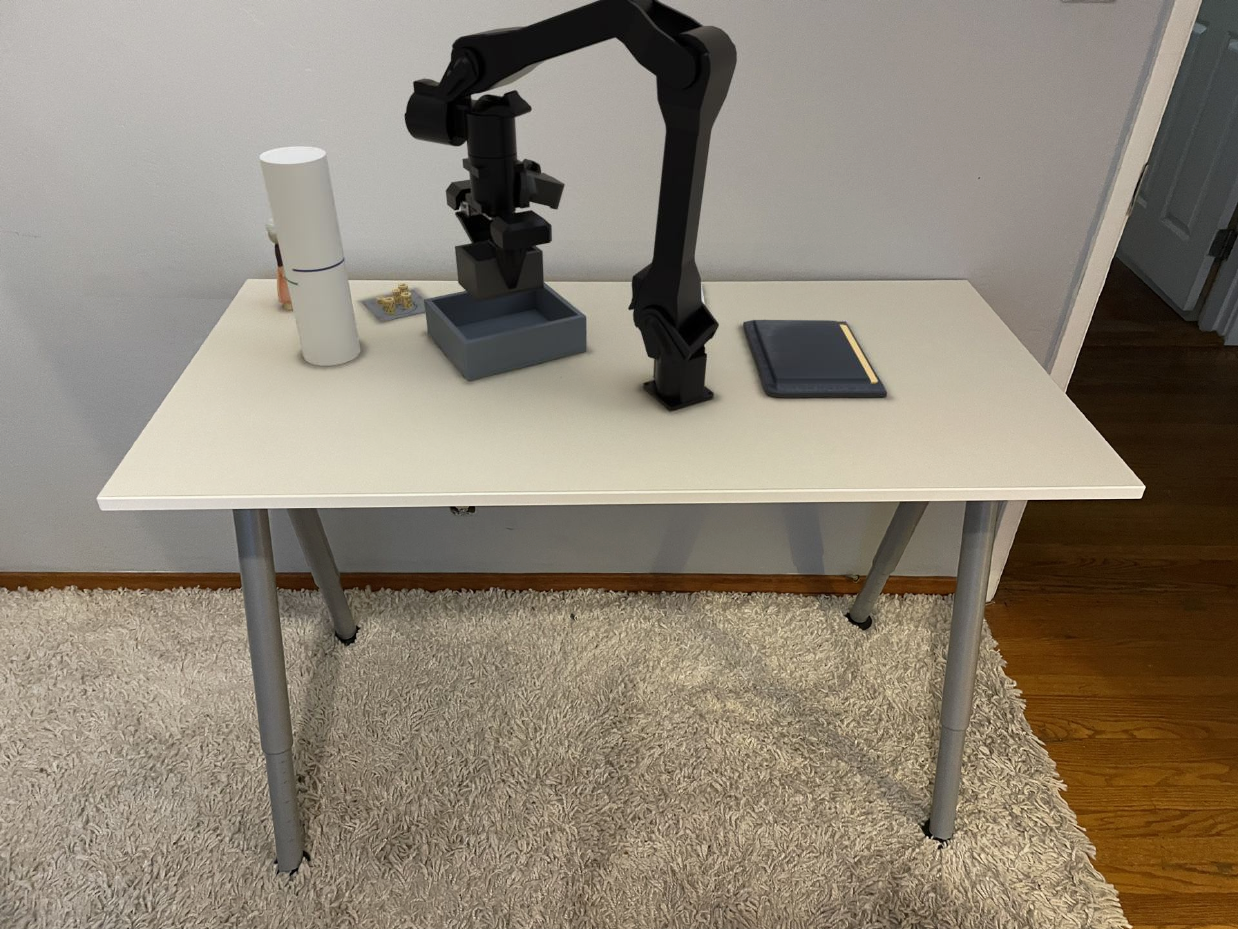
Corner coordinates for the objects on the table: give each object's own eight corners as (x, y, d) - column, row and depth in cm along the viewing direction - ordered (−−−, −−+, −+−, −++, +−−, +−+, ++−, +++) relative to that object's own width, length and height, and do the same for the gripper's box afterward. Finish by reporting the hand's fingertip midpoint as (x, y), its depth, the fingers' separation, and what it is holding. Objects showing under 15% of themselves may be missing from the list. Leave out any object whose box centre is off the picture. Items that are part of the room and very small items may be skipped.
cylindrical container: (345, 368, 106) (306, 166, 91) (292, 362, 107) (246, 161, 92) (370, 343, 111) (337, 148, 97) (320, 337, 113) (280, 144, 98)
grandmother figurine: (276, 296, 123) (256, 210, 115) (304, 292, 124) (286, 207, 117) (283, 318, 117) (263, 229, 110) (312, 313, 118) (293, 225, 111)
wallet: (743, 312, 117) (852, 313, 117) (742, 324, 118) (849, 326, 118) (764, 384, 101) (890, 386, 101) (762, 397, 102) (887, 399, 102)
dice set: (407, 294, 124) (405, 282, 123) (420, 307, 121) (418, 294, 120) (374, 301, 122) (372, 289, 121) (386, 315, 118) (384, 302, 117)
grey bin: (586, 351, 111) (586, 316, 108) (468, 381, 104) (464, 344, 101) (538, 309, 121) (537, 275, 118) (427, 334, 114) (423, 299, 111)
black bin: (544, 288, 107) (542, 250, 104) (478, 302, 103) (474, 263, 100) (522, 270, 112) (520, 234, 109) (458, 283, 108) (454, 246, 105)
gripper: (591, 163, 95) (591, 293, 104) (521, 126, 108) (527, 244, 117) (500, 177, 90) (509, 311, 99) (438, 136, 103) (451, 258, 112)
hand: (500, 278), depth 107 cm, fingers closed on black bin, 6 cm apart
